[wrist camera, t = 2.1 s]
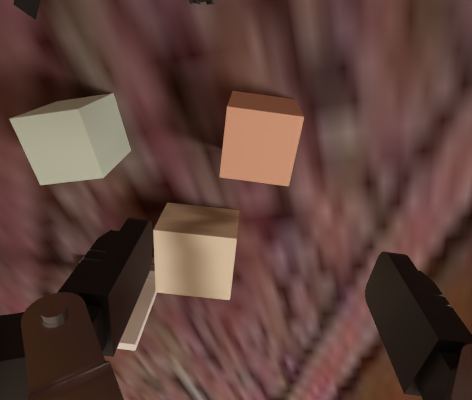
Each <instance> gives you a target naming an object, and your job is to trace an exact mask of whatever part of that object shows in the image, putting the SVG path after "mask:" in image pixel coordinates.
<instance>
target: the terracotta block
mask: <svg viewBox="0 0 472 400" xmlns="http://www.w3.org/2000/svg"><path fill="white" fill-rule="evenodd" d="M303 120H304V116H303V114H302V112H301V110H300V109H299V107H298V105H297V103H296V101H295V100H294V99H290V98H283V97H275V96H268V95H261V94H253V93H246V92H238V91H232V94H231V97H230V100H229V102H228V105H227V111H226V121H225V130H224V140H223V149H222V159H221V168H220V177H222V178H229V179H237V180H245V181H252V182H260V183H267V184H275V185H282V186H289V183H290V179H291V174H292V170H293V165H294V160H295V156H296V151H297V147H298V142H299V138H300V133H301V129H302V124H303Z"/></svg>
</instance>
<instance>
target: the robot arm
mask: <svg viewBox="0 0 472 400" xmlns="http://www.w3.org/2000/svg"><path fill="white" fill-rule="evenodd" d="M151 263H152V222H151V221H150V220H142V219H134V218H128V219H127V221H126V222H125V224H124V225H123V227H122V228H121V230H120V231H113V230H110V231H109V232H107V233H106V234H104V235H102V236H101V237H99V238H98V239H97V240H96V242H95V243H94V244H93V246H92V247H91V248H90V251H88V252H87V254H86V255H85V256H84V259H82V260H81V262H80V263H79V264H78V266H77V267H76V268H75V270H74V271H73V273H72V274H71V275H70V277H69V278H68V279H67V281H66V282H65V283H64V285H63V286H62V287H61V289H60V290H59V291H58V293H54V294H50V295H47V296H44V297H42V298H40V299H38V300H37V301H35V302H34V303H32V304H31V305H30V306H29V307H28V308H27V309H26V310H25V312H22V313H17V314H9V315H1V316H0V400H124V399H123V396H122V394H121V391H120V388H119V385H118V383H117V380H116V377H115V374H114V372H113V369H112V366H111V364H110V362H109V361H105V358H104V356H103V355H105V356H114V354H115V352H116V349H117V347H118V345H119V342H120V340H121V338H122V335H123V333H124V331H125V328H126V326H127V324H128V321H129V319H130V317H131V314H132V312H133V310H134V307H135V305H136V303H137V300H138V298H139V296H140V293H141V291H142V289H143V286H144V284H145V282H146V279H147V277H148V275H149V272H150V268H151ZM365 298H366V302H367V305H368V307H369V310H370V312H371V315H372V317H373V319H374V322H375V324H376V327H377V329H378V332H379V334H380V336H381V339H382V341H383V344H384V346H385V348H386V351H387V353H388V356H389V358H390V360H391V363H392V365H393V368H394V370H395V373H396V375H397V377H398V380H399V382H400V385H401V387H402V389H403V392H404V394H410V395H418V396H422V398H423V400H472V334H471V333H470V332H469V330H468V329H467V327H466V326H465V325H464V323H463V322H462V321H461V319H460V318H459V316H458V315H457V314H456V312H455V311H454V309H453V308H451V307H450V304H449V302H448V301H447V300H446V298H445V297H443V294H442V293H441V291H440V290H439V288H438V287H437V286H436V284H435V283H434V282H433V281H432V280H431V279H430V278H428V277H427V276H426V275H425V274H424V273H422V272H421V271H418V270H417V269H416V267H415V266H414V264H413V263H412V261H411V260H410V258H409V257H408V256H407V255H405V254H397V253H390V252H382V253H381V254H380V255H379V257H378V259H377V261H376V264H375V266H374V268H373V271H372V273H371V275H370V278H369V280H368V282H367V285H366V290H365Z"/></svg>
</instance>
